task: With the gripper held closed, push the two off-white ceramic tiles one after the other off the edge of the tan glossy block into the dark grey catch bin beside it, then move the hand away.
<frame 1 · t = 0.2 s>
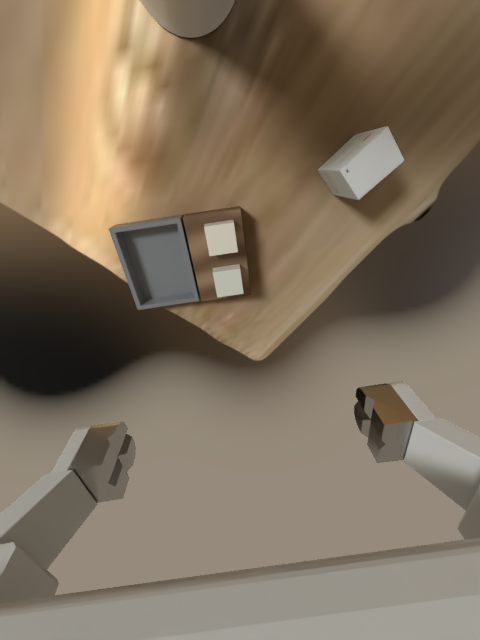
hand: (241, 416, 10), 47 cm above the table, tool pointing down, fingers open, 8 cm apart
tile B: (228, 278, 53), point 4 cm above the table, touching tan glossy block
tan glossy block: (219, 253, 54), on the table
tile A: (221, 236, 49), point 4 cm above the table, touching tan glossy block
catch bin: (160, 261, 54), on the table
small box: (343, 165, 48), on the table
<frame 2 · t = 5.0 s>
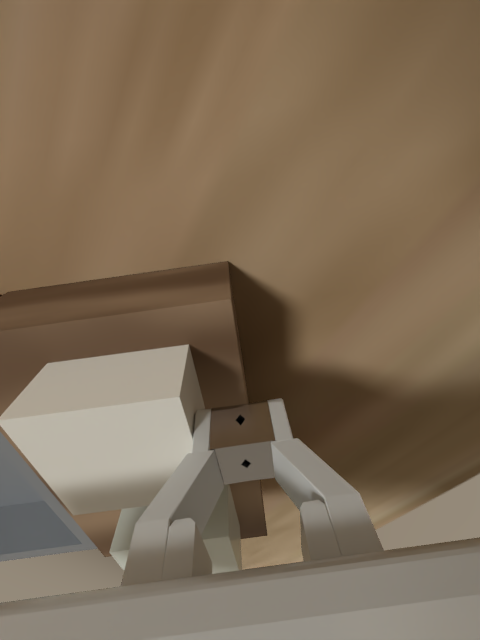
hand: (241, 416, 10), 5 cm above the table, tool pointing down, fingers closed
tile B: (188, 509, 15), point 4 cm above the table, touching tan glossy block
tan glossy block: (163, 403, 16), on the table
tile A: (139, 404, 11), point 4 cm above the table, touching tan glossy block, gripper
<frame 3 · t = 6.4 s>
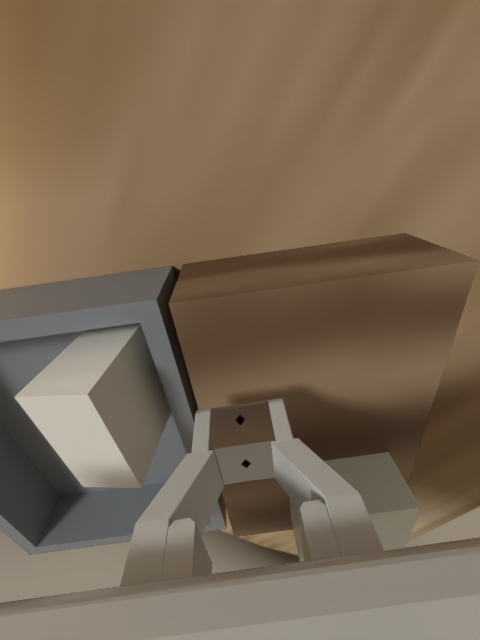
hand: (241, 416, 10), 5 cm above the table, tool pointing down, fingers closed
tile B: (335, 487, 15), point 4 cm above the table, touching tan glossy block
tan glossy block: (297, 382, 16), on the table
tile A: (146, 393, 11), point 3 cm above the table, tilted 99°, touching catch bin
catch bin: (101, 409, 16), on the table
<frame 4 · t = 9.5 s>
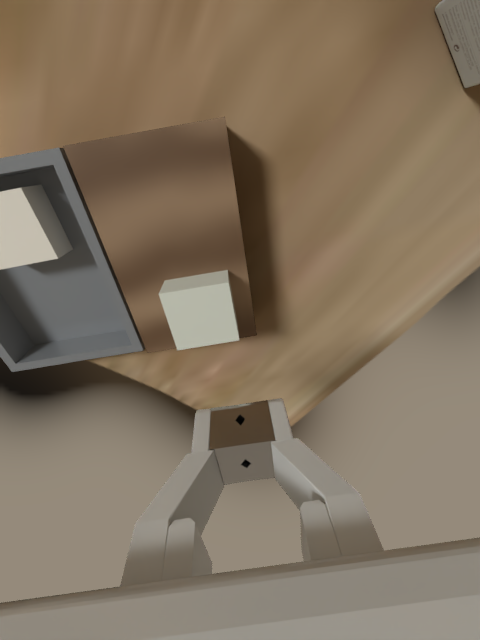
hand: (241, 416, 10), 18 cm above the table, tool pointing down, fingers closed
tile B: (203, 303, 23), point 4 cm above the table, touching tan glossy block
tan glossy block: (184, 244, 24), on the table
tile A: (7, 231, 20), point 3 cm above the table, tilted 180°, touching catch bin
catch bin: (54, 266, 24), on the table
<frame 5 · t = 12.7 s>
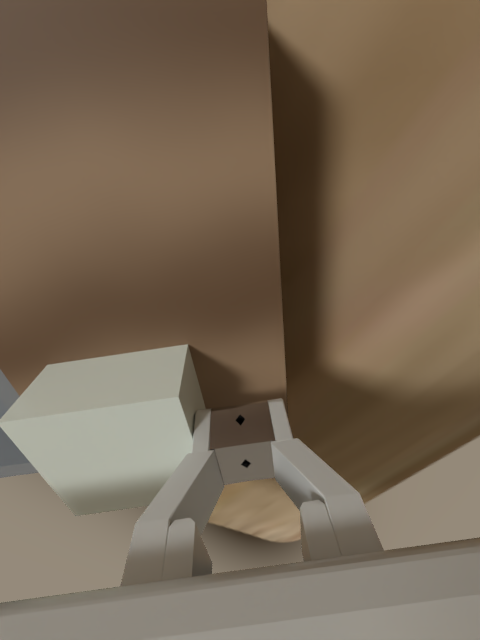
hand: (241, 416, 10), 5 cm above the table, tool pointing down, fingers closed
tile B: (139, 405, 11), point 4 cm above the table, touching gripper
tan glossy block: (153, 270, 12), on the table
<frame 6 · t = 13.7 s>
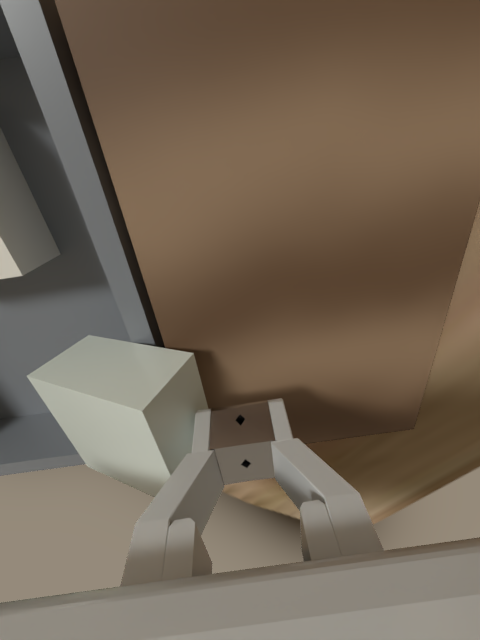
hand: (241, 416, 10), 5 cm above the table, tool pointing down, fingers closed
tile B: (155, 393, 11), point 4 cm above the table, tilted 27°, touching catch bin, gripper
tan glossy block: (281, 250, 12), on the table
catch bin: (22, 286, 12), on the table
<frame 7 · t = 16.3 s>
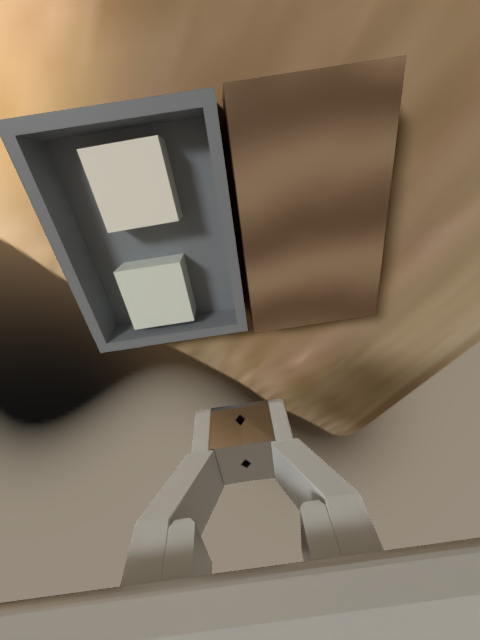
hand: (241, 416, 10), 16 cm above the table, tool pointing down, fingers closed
tile B: (155, 297, 22), point 3 cm above the table, tilted 180°, touching catch bin
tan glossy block: (299, 214, 22), on the table
tile A: (130, 187, 18), point 3 cm above the table, tilted 180°, touching catch bin
catch bin: (156, 236, 22), on the table
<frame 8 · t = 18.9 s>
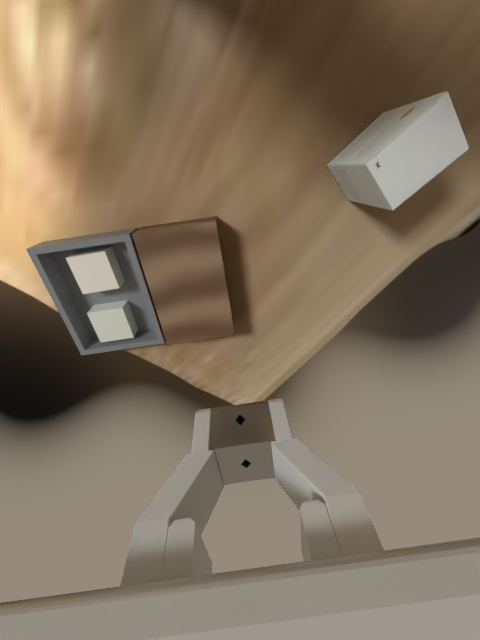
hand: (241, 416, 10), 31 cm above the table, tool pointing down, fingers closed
tile B: (111, 325, 39), point 3 cm above the table, tilted 180°, touching catch bin
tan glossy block: (191, 279, 40), on the table
tile A: (93, 273, 35), point 3 cm above the table, tilted 180°, touching catch bin
catch bin: (111, 290, 40), on the table
small box: (363, 159, 34), on the table
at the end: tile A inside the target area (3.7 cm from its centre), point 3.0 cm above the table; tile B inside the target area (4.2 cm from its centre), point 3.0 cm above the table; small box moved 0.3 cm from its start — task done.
